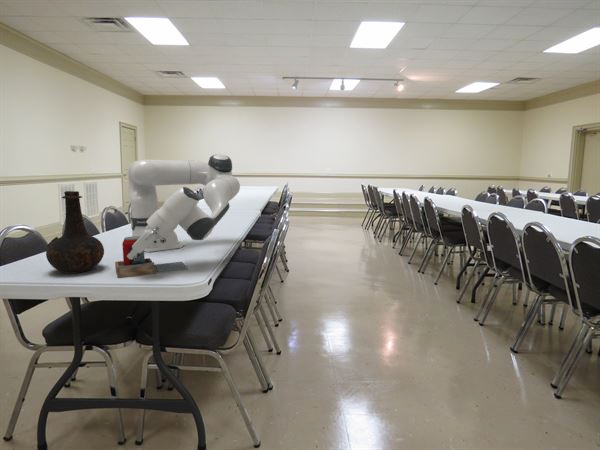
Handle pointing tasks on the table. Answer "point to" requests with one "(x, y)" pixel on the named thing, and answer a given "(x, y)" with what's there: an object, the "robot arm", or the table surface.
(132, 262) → the beverage can
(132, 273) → the can cradle
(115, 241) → the table surface
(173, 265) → the rubber mat
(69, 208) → the glass bottle
